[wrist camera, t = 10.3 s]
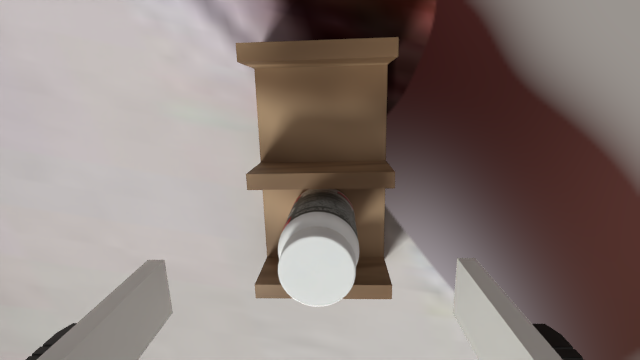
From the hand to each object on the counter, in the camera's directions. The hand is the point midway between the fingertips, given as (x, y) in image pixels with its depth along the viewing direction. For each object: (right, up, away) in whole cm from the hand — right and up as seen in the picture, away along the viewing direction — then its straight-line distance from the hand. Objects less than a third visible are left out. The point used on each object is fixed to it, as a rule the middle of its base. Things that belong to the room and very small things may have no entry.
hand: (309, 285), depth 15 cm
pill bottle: (+1, +2, +10) cm, 10 cm away
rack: (+1, +6, +10) cm, 12 cm away
